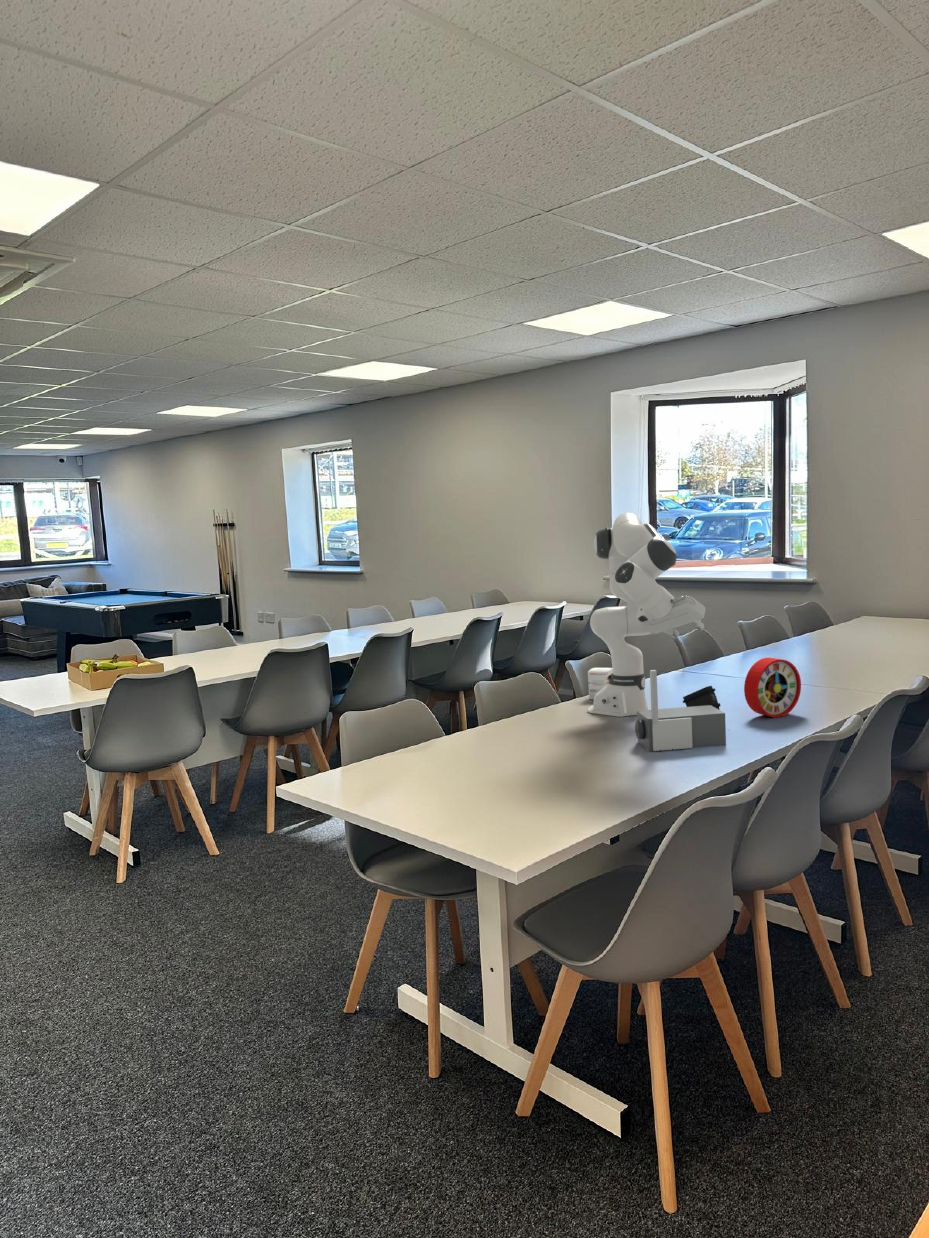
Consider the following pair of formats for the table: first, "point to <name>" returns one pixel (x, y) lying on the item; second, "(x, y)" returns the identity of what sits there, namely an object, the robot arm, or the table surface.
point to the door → (668, 725)
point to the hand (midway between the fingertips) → (689, 631)
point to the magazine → (702, 698)
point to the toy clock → (772, 687)
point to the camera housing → (704, 725)
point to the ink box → (598, 680)
